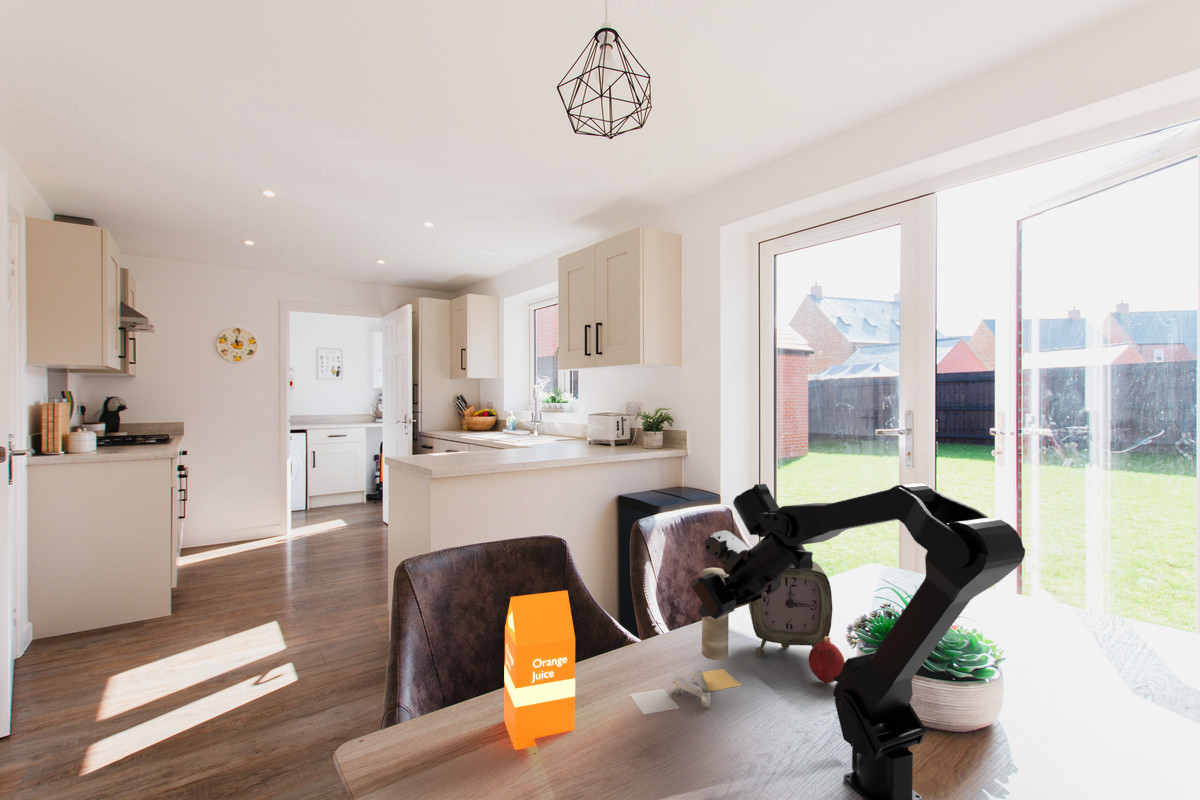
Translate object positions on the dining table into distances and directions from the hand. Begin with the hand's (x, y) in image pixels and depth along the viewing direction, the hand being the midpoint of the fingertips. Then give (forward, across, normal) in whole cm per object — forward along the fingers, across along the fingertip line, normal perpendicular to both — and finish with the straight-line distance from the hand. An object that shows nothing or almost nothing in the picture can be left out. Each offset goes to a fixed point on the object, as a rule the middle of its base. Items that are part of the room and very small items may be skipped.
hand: (708, 610), depth 97 cm
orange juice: (+16, +29, +2) cm, 33 cm away
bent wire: (+7, +7, +10) cm, 14 cm away
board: (+7, +7, +10) cm, 15 cm away
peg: (+4, 0, +6) cm, 7 cm away
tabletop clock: (+6, -21, +12) cm, 25 cm away
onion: (-1, -15, +19) cm, 24 cm away
